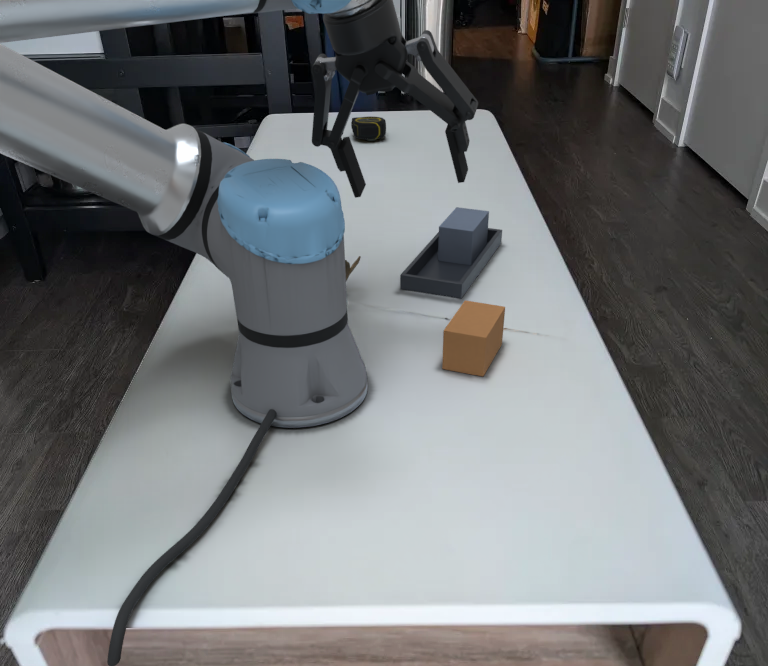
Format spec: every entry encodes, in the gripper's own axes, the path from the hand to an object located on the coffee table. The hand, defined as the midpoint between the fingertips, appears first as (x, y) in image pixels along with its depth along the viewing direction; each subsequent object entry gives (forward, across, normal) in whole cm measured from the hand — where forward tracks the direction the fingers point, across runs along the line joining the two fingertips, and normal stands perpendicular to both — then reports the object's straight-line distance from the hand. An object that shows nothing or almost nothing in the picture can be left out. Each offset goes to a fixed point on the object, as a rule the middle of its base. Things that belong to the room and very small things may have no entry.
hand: (410, 184), depth 99 cm
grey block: (+18, -1, -10) cm, 20 cm away
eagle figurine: (+11, +15, +4) cm, 19 cm away
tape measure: (+25, +31, -61) cm, 73 cm away
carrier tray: (+17, 0, -5) cm, 18 cm away
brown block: (+13, -9, +18) cm, 24 cm away
